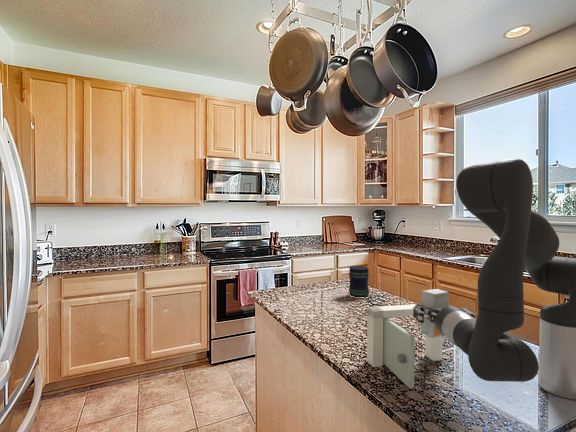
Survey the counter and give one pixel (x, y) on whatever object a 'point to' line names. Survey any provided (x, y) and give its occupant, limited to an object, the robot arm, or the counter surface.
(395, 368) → the door
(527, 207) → the robot arm
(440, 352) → the door frame
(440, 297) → the skincare box
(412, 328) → the counter surface
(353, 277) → the storage jar
